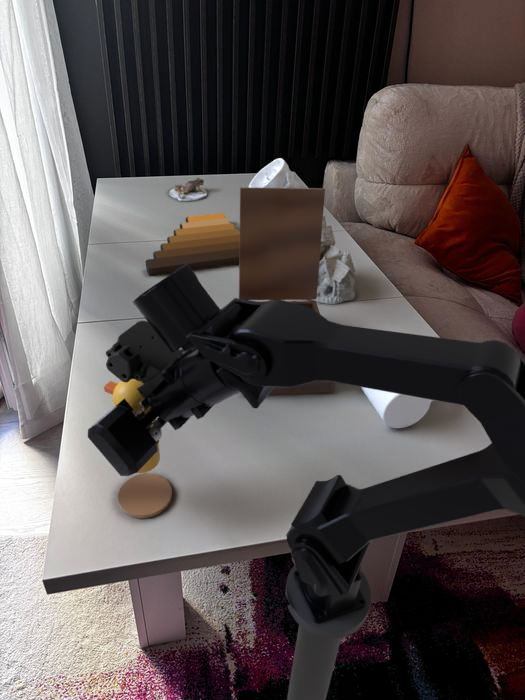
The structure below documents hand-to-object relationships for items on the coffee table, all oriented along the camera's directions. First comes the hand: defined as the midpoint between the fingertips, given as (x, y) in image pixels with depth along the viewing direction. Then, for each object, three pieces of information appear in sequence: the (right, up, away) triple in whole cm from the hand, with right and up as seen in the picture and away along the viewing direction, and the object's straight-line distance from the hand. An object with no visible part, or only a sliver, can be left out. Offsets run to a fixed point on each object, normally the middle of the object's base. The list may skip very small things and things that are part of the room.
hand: (128, 421), depth 66 cm
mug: (+38, -1, +24) cm, 46 cm away
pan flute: (-2, +34, +69) cm, 77 cm away
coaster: (+1, -11, +7) cm, 13 cm away
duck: (+1, -5, +3) cm, 6 cm away
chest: (+20, +7, +33) cm, 39 cm away
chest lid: (+19, +27, +33) cm, 46 cm away
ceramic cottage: (+27, +22, +55) cm, 66 cm away
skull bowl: (+20, +54, +100) cm, 115 cm away
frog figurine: (-6, +55, +99) cm, 114 cm away
